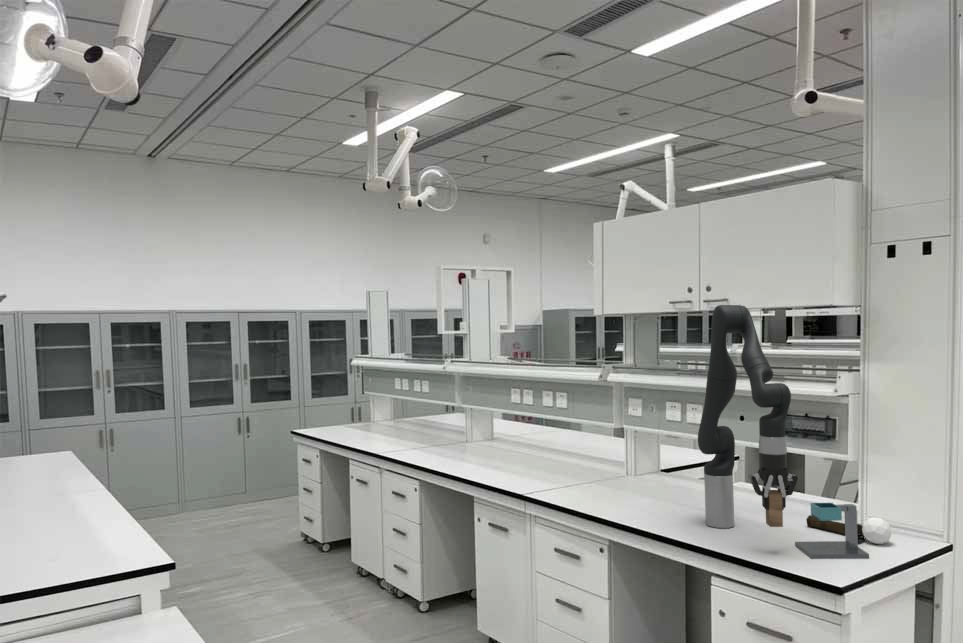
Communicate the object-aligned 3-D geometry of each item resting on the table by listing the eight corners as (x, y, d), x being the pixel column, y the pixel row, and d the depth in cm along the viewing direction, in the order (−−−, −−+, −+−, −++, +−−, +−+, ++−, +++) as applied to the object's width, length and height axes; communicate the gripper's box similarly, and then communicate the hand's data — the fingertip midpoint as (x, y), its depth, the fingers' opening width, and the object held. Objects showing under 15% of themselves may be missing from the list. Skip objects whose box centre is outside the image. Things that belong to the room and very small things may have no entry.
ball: (885, 553, 206) (899, 536, 202) (858, 543, 208) (871, 526, 203) (882, 535, 212) (895, 518, 208) (855, 525, 214) (868, 508, 209)
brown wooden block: (766, 523, 203) (765, 489, 203) (778, 523, 203) (777, 489, 203) (770, 526, 200) (769, 492, 200) (782, 526, 199) (782, 492, 199)
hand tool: (805, 527, 226) (805, 513, 226) (813, 525, 228) (812, 511, 228) (860, 542, 210) (860, 527, 210) (868, 540, 212) (868, 525, 212)
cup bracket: (795, 545, 207) (793, 500, 208) (849, 545, 206) (847, 500, 206) (811, 558, 195) (809, 510, 196) (869, 558, 194) (867, 510, 194)
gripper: (792, 448, 205) (793, 505, 205) (744, 448, 206) (745, 506, 206) (802, 453, 197) (803, 512, 197) (752, 453, 198) (753, 513, 198)
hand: (773, 509), depth 201 cm, fingers closed on brown wooden block, 3 cm apart
